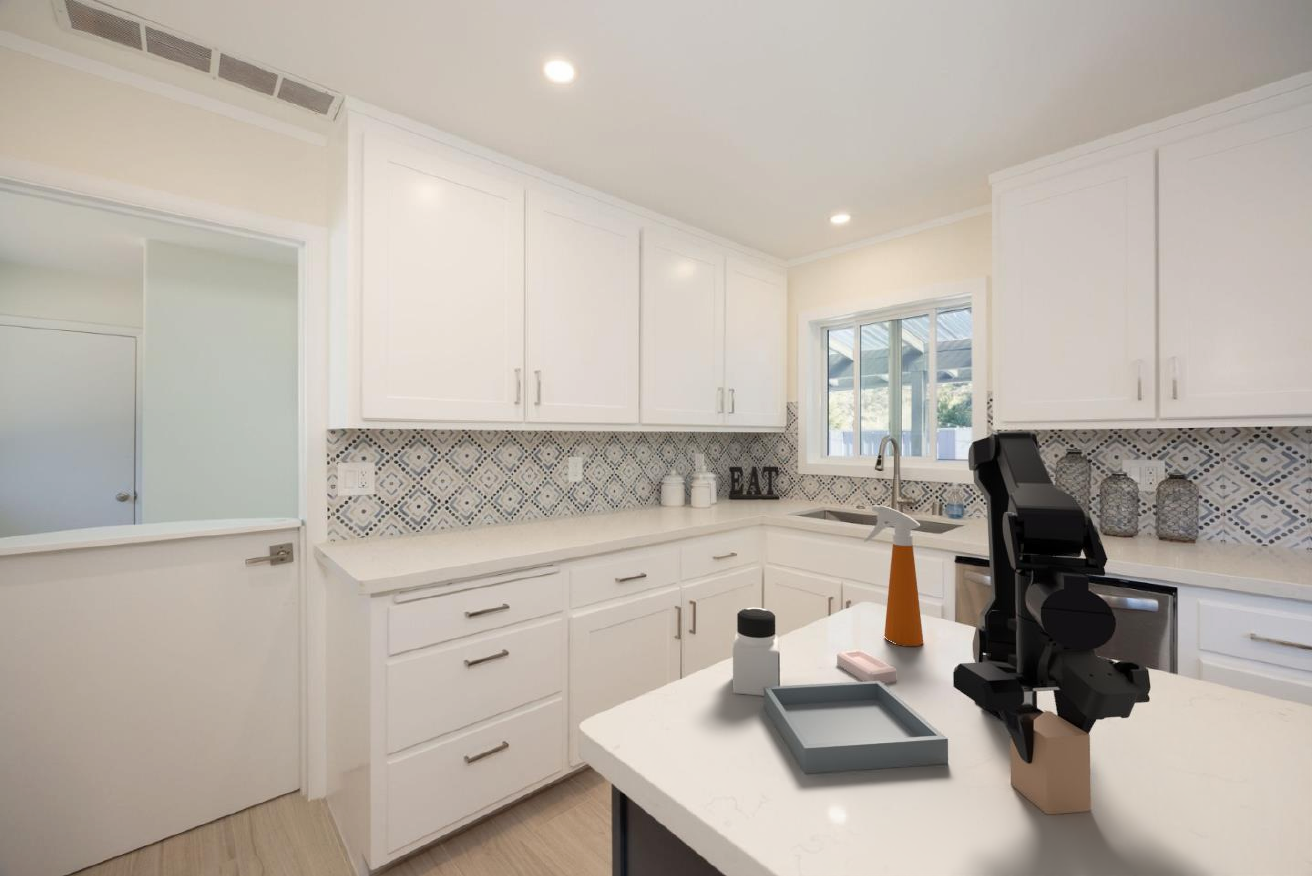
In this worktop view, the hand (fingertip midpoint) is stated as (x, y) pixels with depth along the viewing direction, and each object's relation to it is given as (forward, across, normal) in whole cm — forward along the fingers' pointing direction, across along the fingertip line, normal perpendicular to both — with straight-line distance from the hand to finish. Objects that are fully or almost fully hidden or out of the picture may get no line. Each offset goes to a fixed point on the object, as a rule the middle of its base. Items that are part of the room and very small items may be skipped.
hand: (1048, 760), depth 59 cm
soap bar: (+5, -4, +33) cm, 34 cm away
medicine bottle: (+4, -24, +30) cm, 39 cm away
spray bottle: (+4, +9, +47) cm, 48 cm away
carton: (+4, 0, 0) cm, 4 cm away
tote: (+4, -16, +15) cm, 22 cm away
